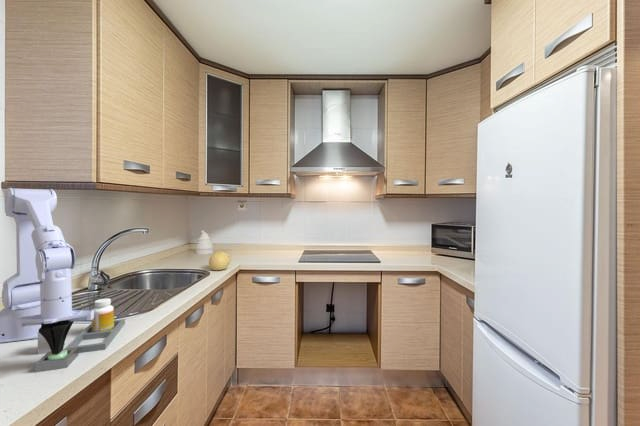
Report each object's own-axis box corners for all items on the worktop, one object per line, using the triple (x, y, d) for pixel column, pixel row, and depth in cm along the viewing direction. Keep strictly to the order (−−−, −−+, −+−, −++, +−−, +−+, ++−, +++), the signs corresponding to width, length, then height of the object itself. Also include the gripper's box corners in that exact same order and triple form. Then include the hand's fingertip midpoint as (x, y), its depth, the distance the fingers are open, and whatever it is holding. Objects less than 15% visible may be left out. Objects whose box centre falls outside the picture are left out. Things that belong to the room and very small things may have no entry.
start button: (44, 366, 70) (44, 357, 70) (52, 358, 73) (52, 350, 73) (63, 363, 71) (63, 355, 71) (70, 356, 74) (70, 348, 74)
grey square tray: (35, 372, 68) (35, 363, 68) (49, 359, 74) (48, 351, 74) (67, 367, 70) (66, 359, 70) (78, 355, 76) (78, 347, 76)
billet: (38, 354, 76) (37, 331, 76) (46, 347, 80) (45, 325, 80) (57, 352, 78) (56, 329, 77) (64, 345, 81) (64, 323, 81)
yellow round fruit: (233, 268, 181) (233, 250, 181) (220, 272, 170) (220, 253, 169) (218, 267, 185) (218, 249, 184) (204, 270, 173) (204, 252, 173)
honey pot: (192, 253, 235) (192, 231, 234) (203, 251, 247) (203, 229, 246) (205, 254, 231) (205, 231, 230) (216, 252, 243) (216, 230, 242)
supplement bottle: (118, 327, 93) (117, 297, 93) (106, 335, 87) (105, 303, 87) (100, 328, 93) (100, 297, 92) (87, 335, 87) (87, 303, 87)
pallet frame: (64, 354, 76) (64, 349, 76) (91, 327, 93) (91, 322, 93) (105, 349, 79) (105, 343, 79) (124, 323, 96) (124, 319, 96)
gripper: (6, 305, 65) (8, 365, 66) (85, 298, 70) (86, 354, 71) (26, 296, 72) (27, 351, 72) (96, 290, 77) (97, 341, 77)
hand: (57, 352), depth 72 cm, fingers closed
